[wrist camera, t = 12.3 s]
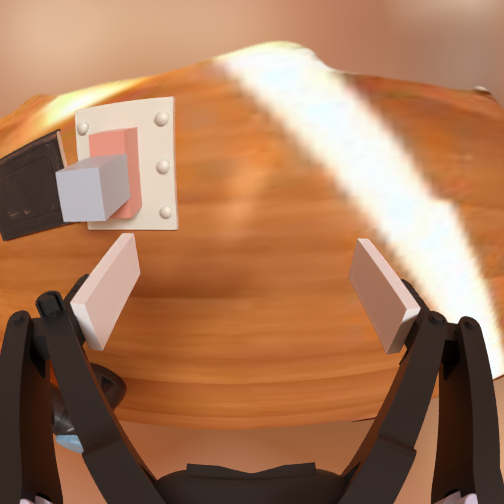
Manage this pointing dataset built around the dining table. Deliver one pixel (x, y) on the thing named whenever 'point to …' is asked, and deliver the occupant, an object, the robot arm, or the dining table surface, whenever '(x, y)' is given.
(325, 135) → the dining table surface
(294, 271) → the dining table surface
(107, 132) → the studded cream panel
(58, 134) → the hardcover book
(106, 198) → the gray brick
